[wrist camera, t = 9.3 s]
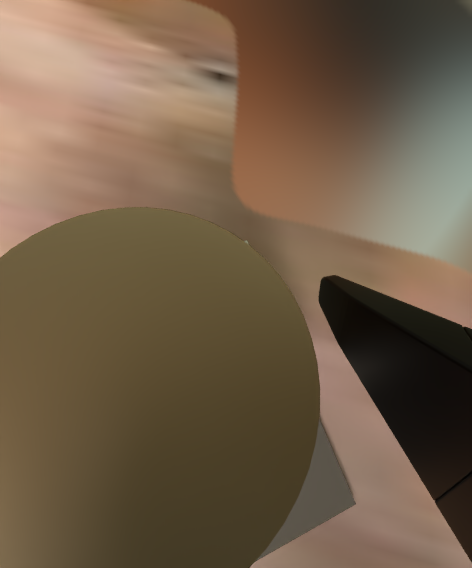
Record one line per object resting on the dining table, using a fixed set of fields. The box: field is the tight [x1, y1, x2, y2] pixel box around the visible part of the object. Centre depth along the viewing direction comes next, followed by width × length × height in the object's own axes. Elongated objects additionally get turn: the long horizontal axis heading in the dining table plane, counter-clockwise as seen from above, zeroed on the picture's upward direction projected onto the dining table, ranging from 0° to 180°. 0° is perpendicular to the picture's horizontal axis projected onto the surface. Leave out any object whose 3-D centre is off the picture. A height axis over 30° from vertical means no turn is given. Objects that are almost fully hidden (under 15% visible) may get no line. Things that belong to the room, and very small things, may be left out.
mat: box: [256, 419, 356, 561], centre depth 14 cm, size 16×20×1 cm
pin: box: [0, 207, 320, 568], centre depth 9 cm, size 4×4×13 cm
